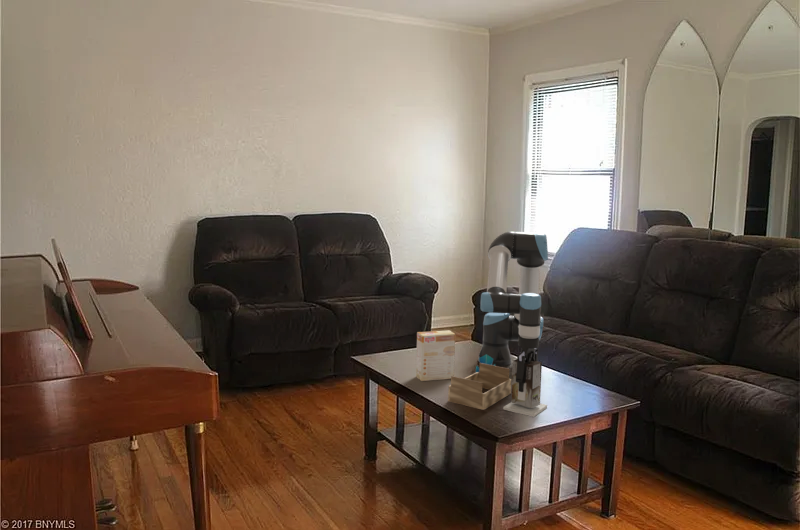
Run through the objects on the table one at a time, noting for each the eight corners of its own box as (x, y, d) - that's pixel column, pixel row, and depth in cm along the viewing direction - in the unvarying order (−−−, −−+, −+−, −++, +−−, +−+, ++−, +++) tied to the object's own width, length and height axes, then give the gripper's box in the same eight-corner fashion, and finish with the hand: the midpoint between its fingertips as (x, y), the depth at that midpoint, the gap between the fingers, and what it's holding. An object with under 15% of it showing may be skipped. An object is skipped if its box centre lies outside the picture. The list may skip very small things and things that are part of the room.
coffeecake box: (448, 374, 280) (449, 329, 277) (454, 378, 273) (456, 333, 270) (415, 376, 275) (416, 331, 273) (420, 381, 268) (422, 335, 266)
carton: (476, 386, 264) (477, 362, 263) (510, 393, 256) (511, 369, 254) (448, 401, 245) (448, 375, 244) (483, 410, 237) (484, 383, 235)
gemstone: (495, 384, 267) (497, 355, 266) (474, 382, 269) (475, 354, 267) (496, 378, 274) (498, 351, 273) (476, 377, 276) (477, 349, 274)
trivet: (517, 400, 248) (517, 398, 247) (546, 407, 241) (547, 404, 241) (503, 409, 238) (503, 406, 238) (534, 416, 231) (534, 414, 231)
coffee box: (541, 404, 238) (543, 362, 236) (531, 408, 234) (533, 365, 232) (519, 398, 244) (521, 357, 242) (510, 402, 240) (512, 360, 238)
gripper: (530, 329, 246) (527, 388, 249) (507, 339, 230) (504, 402, 233) (549, 332, 242) (545, 392, 245) (527, 343, 225) (524, 406, 229)
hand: (525, 396), depth 239 cm, fingers closed on coffee box, 7 cm apart
